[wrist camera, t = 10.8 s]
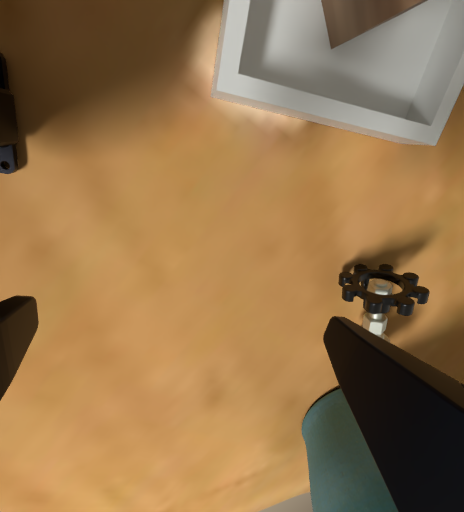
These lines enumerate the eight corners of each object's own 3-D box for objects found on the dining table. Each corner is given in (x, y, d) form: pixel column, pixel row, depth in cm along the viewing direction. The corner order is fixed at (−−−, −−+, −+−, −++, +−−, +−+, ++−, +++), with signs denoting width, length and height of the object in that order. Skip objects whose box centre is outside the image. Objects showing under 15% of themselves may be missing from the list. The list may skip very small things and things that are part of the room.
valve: (374, 350, 31) (389, 257, 25) (420, 402, 25) (452, 295, 19) (320, 363, 30) (324, 270, 25) (354, 419, 24) (369, 314, 19)
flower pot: (256, 402, 31) (330, 667, 16) (400, 338, 30) (618, 545, 15) (298, 471, 39) (373, 689, 24) (411, 422, 39) (561, 610, 23)
